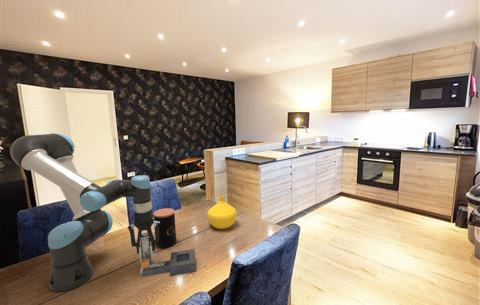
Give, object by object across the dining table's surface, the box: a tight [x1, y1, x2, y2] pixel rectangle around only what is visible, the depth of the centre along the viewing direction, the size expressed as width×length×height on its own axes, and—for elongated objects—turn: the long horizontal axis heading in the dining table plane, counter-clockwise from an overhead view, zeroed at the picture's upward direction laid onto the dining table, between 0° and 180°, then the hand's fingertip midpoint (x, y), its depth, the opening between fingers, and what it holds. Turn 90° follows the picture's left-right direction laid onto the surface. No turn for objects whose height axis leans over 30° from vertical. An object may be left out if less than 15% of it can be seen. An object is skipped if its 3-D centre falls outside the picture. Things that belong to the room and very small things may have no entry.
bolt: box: [139, 258, 166, 275], centre depth 99 cm, size 10×2×5 cm, turn 104°
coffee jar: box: [152, 207, 177, 249], centre depth 120 cm, size 11×11×18 cm
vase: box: [207, 195, 238, 230], centre depth 140 cm, size 18×18×19 cm
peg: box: [139, 231, 153, 264], centre depth 103 cm, size 5×5×14 cm
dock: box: [141, 248, 197, 277], centre depth 101 cm, size 22×11×4 cm, turn 104°
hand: (146, 258), depth 104 cm, fingers closed on peg, 4 cm apart
